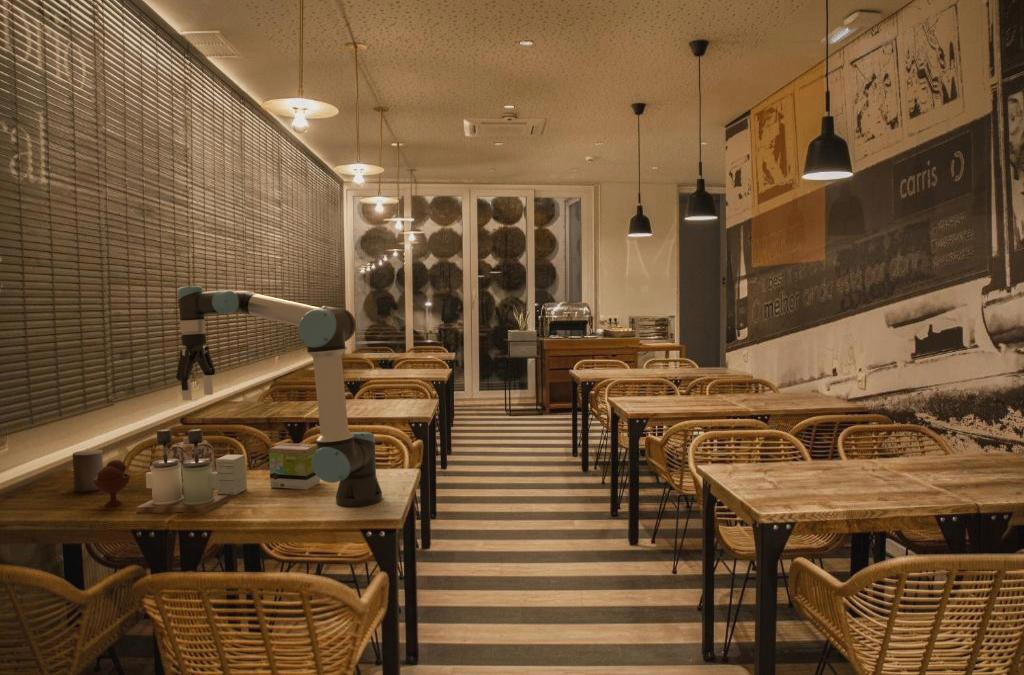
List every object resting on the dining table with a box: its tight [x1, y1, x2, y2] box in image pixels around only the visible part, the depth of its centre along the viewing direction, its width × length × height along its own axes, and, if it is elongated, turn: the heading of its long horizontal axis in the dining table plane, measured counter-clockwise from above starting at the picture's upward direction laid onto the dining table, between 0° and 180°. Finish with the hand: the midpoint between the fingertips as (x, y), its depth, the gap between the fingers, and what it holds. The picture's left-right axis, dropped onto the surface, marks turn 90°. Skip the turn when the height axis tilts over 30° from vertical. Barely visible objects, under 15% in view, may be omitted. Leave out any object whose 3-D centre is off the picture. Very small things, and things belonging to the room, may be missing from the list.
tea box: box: [268, 442, 321, 491], centre depth 266 cm, size 15×10×15 cm, turn 76°
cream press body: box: [145, 463, 184, 505], centre depth 243 cm, size 12×10×12 cm
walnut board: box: [136, 494, 229, 514], centre depth 243 cm, size 24×14×2 cm, turn 84°
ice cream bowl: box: [93, 459, 131, 508], centre depth 247 cm, size 11×11×15 cm
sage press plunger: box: [184, 428, 210, 467], centre depth 241 cm, size 8×8×11 cm
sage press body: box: [181, 463, 219, 505], centre depth 241 cm, size 12×10×12 cm
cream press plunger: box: [151, 428, 179, 467], centre depth 242 cm, size 8×8×11 cm
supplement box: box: [215, 454, 248, 496], centre depth 259 cm, size 7×7×13 cm
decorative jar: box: [167, 436, 216, 490], centre depth 270 cm, size 12×12×18 cm
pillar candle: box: [72, 449, 104, 493], centre depth 269 cm, size 10×10×15 cm
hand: (198, 397), depth 241 cm, fingers open, 13 cm apart
